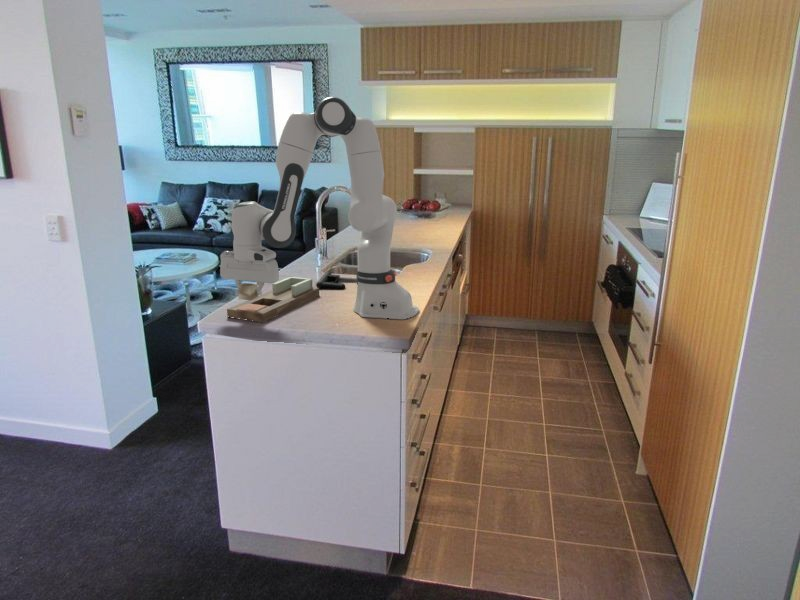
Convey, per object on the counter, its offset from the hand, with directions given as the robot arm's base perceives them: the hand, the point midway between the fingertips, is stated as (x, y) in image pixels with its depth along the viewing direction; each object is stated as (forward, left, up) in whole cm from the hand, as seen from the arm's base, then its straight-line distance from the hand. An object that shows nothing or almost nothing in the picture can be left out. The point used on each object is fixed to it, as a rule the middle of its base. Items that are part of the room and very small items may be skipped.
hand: (250, 293), depth 191 cm
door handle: (-5, -52, -9) cm, 52 cm away
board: (0, -14, -8) cm, 16 cm away
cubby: (0, -25, -5) cm, 25 cm away
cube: (0, +1, -1) cm, 2 cm away
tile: (0, 0, -5) cm, 5 cm away
